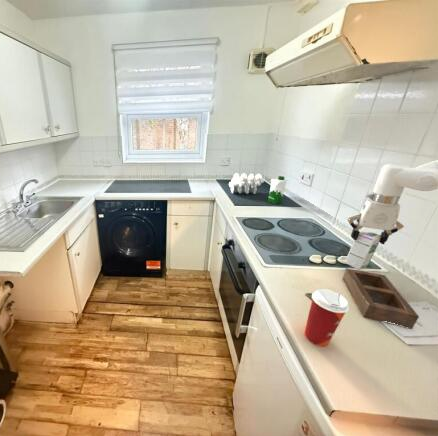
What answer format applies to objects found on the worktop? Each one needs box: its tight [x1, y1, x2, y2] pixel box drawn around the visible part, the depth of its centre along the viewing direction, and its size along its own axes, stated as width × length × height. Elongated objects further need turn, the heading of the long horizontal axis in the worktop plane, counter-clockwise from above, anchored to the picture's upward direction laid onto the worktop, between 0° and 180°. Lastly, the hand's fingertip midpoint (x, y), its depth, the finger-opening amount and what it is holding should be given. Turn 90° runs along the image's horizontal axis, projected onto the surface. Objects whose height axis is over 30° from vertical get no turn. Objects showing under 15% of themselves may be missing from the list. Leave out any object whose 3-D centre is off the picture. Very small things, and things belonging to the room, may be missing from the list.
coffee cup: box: [304, 288, 350, 347], centre depth 67 cm, size 8×8×15 cm
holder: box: [342, 268, 420, 330], centre depth 83 cm, size 12×22×5 cm, turn 157°
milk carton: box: [266, 175, 288, 206], centre depth 179 cm, size 9×9×20 cm
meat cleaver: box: [304, 292, 314, 300], centre depth 82 cm, size 12×1×5 cm
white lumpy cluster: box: [228, 172, 265, 195], centre depth 202 cm, size 18×18×25 cm
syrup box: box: [344, 230, 382, 271], centre depth 95 cm, size 6×6×14 cm
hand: (367, 240), depth 94 cm, fingers closed on syrup box, 8 cm apart
